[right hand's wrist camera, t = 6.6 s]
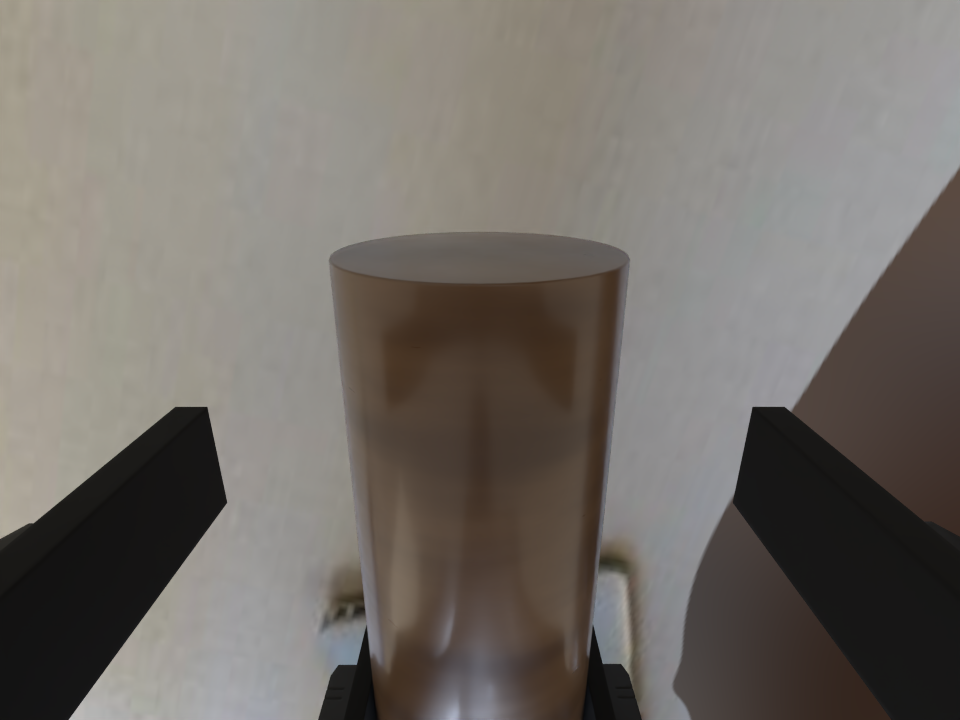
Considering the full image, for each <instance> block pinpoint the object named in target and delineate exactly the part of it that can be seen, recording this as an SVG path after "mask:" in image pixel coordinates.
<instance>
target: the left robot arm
mask: <svg viewBox="0 0 960 720" xmlns="http://www.w3.org/2000/svg"><path fill="white" fill-rule="evenodd" d="M318 720H377V718H376V708H375V699H374V689H373V680H372V670H371V660H370V651H369V641H368V632H367V625H366V629H365V634H364V638H363V642H362V646H361V650H360V654H359V659H358V663H357V665H338V667H337V668H336V669H335V671H334V672H333V674H332V675H331V677H330V681H329V684H328V688H327V691H326V695H325V699H324V702H323V705H322V709H321V712H320V716H319V719H318ZM583 720H642V719H641V715H640V712H639V708H638V705H637V701H636V699H635V694H634V691H633V689H632V684H631V681H630V677H629V674H628V673H627V672H626V670H625V669H624V667H623V666H622V665H621V664H602V660H601V656H600V652H599V647H598V643H597V639H596V635H595V631H594V627H592V637H591V647H590V656H589V666H588V676H587V686H586V695H585V705H584V715H583Z"/></svg>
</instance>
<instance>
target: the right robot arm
mask: <svg viewBox="0 0 960 720" xmlns="http://www.w3.org/2000/svg"><path fill="white" fill-rule="evenodd" d="M226 504H227V500H226V495H225V490H224V485H223V480H222V475H221V471H220V466H219V461H218V456H217V451H216V447H215V442H214V437H213V432H212V427H211V423H210V418H209V413H208V408H207V407H175V408H174V409H172V410H171V411H170V412H169V413H168V414H166V415H165V416H164V417H163V418H161V419H160V420H159V421H158V422H157V423H155V424H154V425H153V426H152V427H150V428H149V429H148V430H147V431H146V432H144V433H143V434H142V435H141V436H140V437H138V438H137V439H136V440H135V441H133V442H132V443H131V444H130V445H129V446H127V447H126V448H125V449H124V450H122V451H121V452H120V453H119V454H118V455H116V456H115V457H114V458H113V459H112V460H110V461H109V462H108V463H107V464H105V465H104V466H103V467H102V468H101V469H99V470H98V471H97V472H96V473H95V474H93V475H92V476H91V477H90V478H88V479H87V480H86V481H85V482H84V483H82V484H81V485H80V486H79V487H77V488H76V489H75V490H74V491H73V492H71V493H70V494H69V495H68V496H67V497H65V498H64V499H63V500H62V501H60V502H59V503H58V504H57V505H56V506H54V507H53V508H52V509H51V510H49V511H48V512H47V513H46V514H45V515H43V516H42V517H41V518H40V519H39V520H37V521H36V522H35V523H29V524H27V525H25V526H24V527H22V528H20V529H18V530H16V531H14V532H12V533H11V534H9V535H7V536H5V537H3V538H1V539H0V720H69V718H70V717H71V716H72V714H73V713H74V711H75V710H76V709H77V707H78V706H79V705H80V703H81V702H82V701H83V699H84V698H85V696H86V695H87V694H88V692H89V691H90V690H91V688H92V687H93V685H94V684H95V683H96V681H97V680H98V679H99V677H100V676H101V675H102V673H103V672H104V670H105V669H106V668H107V666H108V665H109V664H110V662H111V661H112V659H113V658H114V657H115V655H116V654H117V653H118V651H119V650H120V649H121V647H122V646H123V644H124V643H125V642H126V640H127V639H128V638H129V636H130V635H131V633H132V632H133V631H134V629H135V628H136V627H137V625H138V624H139V623H140V621H141V620H142V618H143V617H144V616H145V614H146V613H147V612H148V610H149V609H150V608H151V606H152V605H153V603H154V602H155V601H156V599H157V598H158V597H159V595H160V594H161V592H162V591H163V590H164V588H165V587H166V586H167V584H168V583H169V582H170V580H171V579H172V577H173V576H174V575H175V573H176V572H177V571H178V569H179V568H180V566H181V565H182V564H183V562H184V561H185V560H186V558H187V557H188V556H189V554H190V553H191V551H192V550H193V549H194V547H195V546H196V545H197V543H198V542H199V540H200V539H201V538H202V536H203V535H204V534H205V532H206V531H207V530H208V528H209V527H210V525H211V524H212V523H213V521H214V520H215V519H216V517H217V516H218V514H219V513H220V512H221V510H222V509H223V508H224V506H225V505H226ZM733 504H734V505H735V506H736V508H737V509H738V510H739V512H740V513H741V514H742V516H743V517H744V519H745V520H746V521H747V523H748V524H749V525H750V527H751V528H752V530H753V531H754V532H755V534H756V535H757V536H758V538H759V539H760V540H761V542H762V543H763V545H764V546H765V547H766V549H767V550H768V551H769V553H770V554H771V556H772V557H773V558H774V560H775V561H776V562H777V564H778V565H779V566H780V568H781V569H782V571H783V572H784V573H785V575H786V576H787V577H788V579H789V580H790V581H791V583H792V584H793V586H794V587H795V588H796V590H797V591H798V592H799V594H800V595H801V597H802V598H803V599H804V601H805V602H806V603H807V605H808V606H809V608H810V609H811V610H812V612H813V613H814V614H815V616H816V617H817V618H818V620H819V621H820V623H821V624H822V625H823V627H824V628H825V629H826V631H827V632H828V633H829V635H830V636H831V638H832V639H833V640H834V642H835V643H836V644H837V646H838V647H839V649H840V650H841V651H842V653H843V654H844V655H845V657H846V658H847V659H848V661H849V662H850V664H851V665H852V666H853V668H854V669H855V670H856V672H857V673H858V674H859V676H860V677H861V679H862V680H863V681H864V683H865V684H866V685H867V687H868V688H869V690H870V691H871V692H872V694H873V695H874V696H875V698H876V699H877V701H878V702H879V703H880V705H881V706H882V707H883V709H884V710H885V711H886V713H887V714H888V716H889V717H890V718H891V720H960V537H959V536H957V535H955V534H954V533H952V532H950V531H948V530H946V529H944V528H942V527H940V526H939V525H937V524H935V523H933V522H924V521H923V520H921V519H920V518H919V517H918V516H917V515H915V514H914V513H913V512H912V511H911V510H909V509H908V508H907V507H906V506H904V505H903V504H902V503H901V502H900V501H898V500H897V499H896V498H895V497H893V496H892V495H891V494H890V493H889V492H887V491H886V490H885V489H884V488H882V487H881V486H880V485H879V484H878V483H876V482H875V481H874V480H873V479H872V478H870V477H869V476H868V475H867V474H865V473H864V472H863V471H862V470H861V469H859V468H858V467H857V466H856V465H855V464H853V463H852V462H851V461H850V460H848V459H847V458H846V457H845V456H844V455H842V454H841V453H840V452H839V451H838V450H836V449H835V448H834V447H833V446H831V445H830V444H829V443H828V442H827V441H825V440H824V439H823V438H822V437H820V436H819V435H818V434H817V433H816V432H814V431H813V430H812V429H811V428H809V427H808V426H807V425H806V424H805V423H803V422H802V421H801V420H800V419H799V418H797V417H796V416H795V415H794V414H792V413H791V412H790V411H789V410H788V409H786V408H785V407H753V408H752V413H751V418H750V423H749V427H748V432H747V437H746V442H745V447H744V451H743V456H742V461H741V466H740V471H739V475H738V480H737V485H736V490H735V495H734V500H733Z"/></svg>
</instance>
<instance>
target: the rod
mask: <svg viewBox="0 0 960 720" xmlns="http://www.w3.org/2000/svg"><path fill="white" fill-rule="evenodd" d="M329 266H330V276H331V285H332V295H333V304H334V314H335V324H336V333H337V343H338V353H339V362H340V372H341V381H342V391H343V401H344V410H345V420H346V429H347V439H348V449H349V458H350V468H351V478H352V487H353V497H354V506H355V516H356V526H357V535H358V545H359V555H360V564H361V574H362V583H363V593H364V603H365V612H366V622H367V632H368V641H369V651H370V660H371V670H372V680H373V689H374V699H375V708H376V718H377V720H583V715H584V705H585V695H586V686H587V676H588V666H589V656H590V647H591V637H592V627H593V617H594V608H595V598H596V588H597V578H598V569H599V559H600V549H601V539H602V529H603V520H604V510H605V500H606V490H607V481H608V471H609V461H610V451H611V442H612V432H613V422H614V412H615V403H616V393H617V383H618V373H619V363H620V354H621V344H622V334H623V324H624V315H625V305H626V295H627V285H628V276H629V266H630V259H629V256H628V254H626V253H625V252H624V251H622V250H620V249H618V248H616V247H613V246H610V245H607V244H603V243H599V242H594V241H590V240H584V239H578V238H571V237H563V236H554V235H543V234H529V233H508V232H453V233H431V234H417V235H406V236H397V237H389V238H382V239H376V240H370V241H365V242H361V243H357V244H353V245H349V246H347V247H344V248H341V249H339V250H337V251H335V252H334V253H333V254H332V255H331V256H330V259H329Z"/></svg>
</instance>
